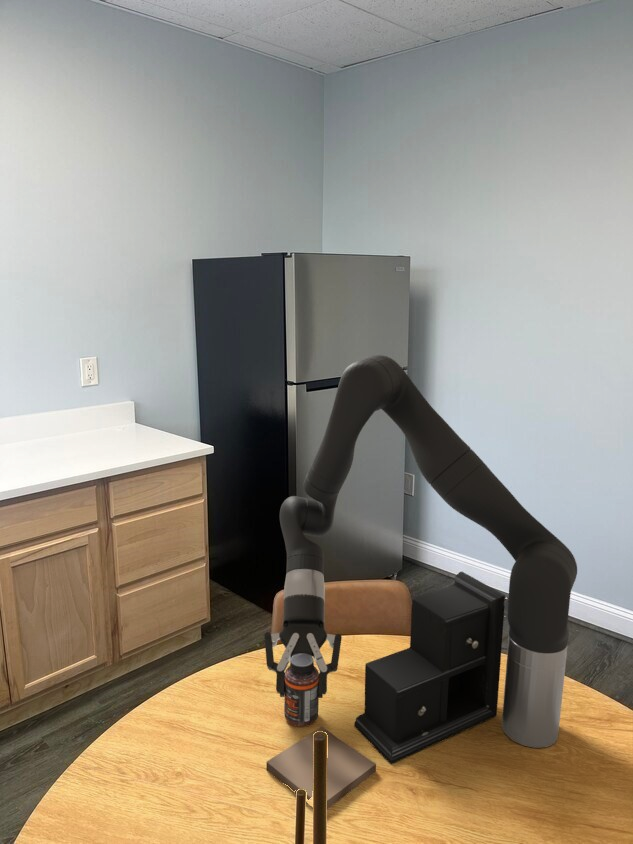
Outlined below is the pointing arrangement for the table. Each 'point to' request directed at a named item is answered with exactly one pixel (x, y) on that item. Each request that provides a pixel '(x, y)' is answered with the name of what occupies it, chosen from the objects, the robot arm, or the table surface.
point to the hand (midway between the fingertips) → (301, 696)
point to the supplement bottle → (301, 691)
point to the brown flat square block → (341, 767)
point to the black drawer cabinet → (437, 671)
